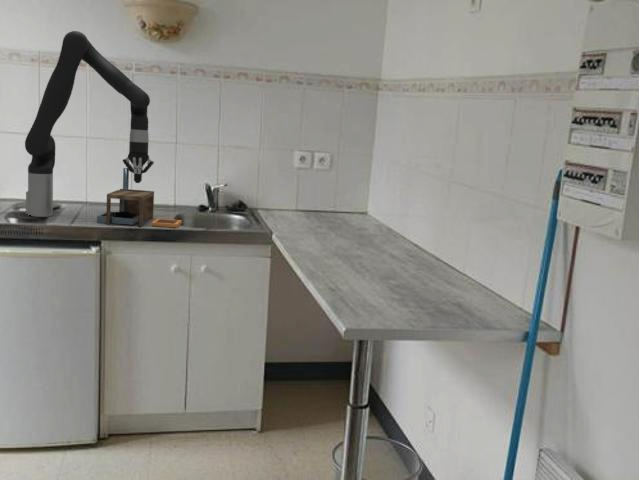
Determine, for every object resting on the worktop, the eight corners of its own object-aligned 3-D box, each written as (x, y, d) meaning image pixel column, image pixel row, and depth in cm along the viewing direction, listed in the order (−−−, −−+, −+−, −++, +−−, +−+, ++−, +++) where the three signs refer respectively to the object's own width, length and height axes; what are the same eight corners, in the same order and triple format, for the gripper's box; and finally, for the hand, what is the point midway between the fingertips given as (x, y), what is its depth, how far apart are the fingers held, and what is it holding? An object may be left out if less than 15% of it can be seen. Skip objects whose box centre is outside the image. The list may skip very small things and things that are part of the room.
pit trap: (151, 226, 267) (151, 222, 267) (157, 221, 278) (157, 218, 278) (176, 228, 267) (176, 224, 267) (181, 223, 278) (181, 220, 278)
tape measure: (132, 220, 270) (131, 210, 270) (114, 221, 267) (113, 211, 267) (128, 220, 277) (127, 211, 276) (111, 221, 273) (110, 212, 273)
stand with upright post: (96, 222, 265) (97, 170, 262) (108, 216, 281) (109, 166, 277) (132, 224, 266) (134, 172, 262) (142, 218, 281) (144, 169, 278)
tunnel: (106, 224, 264) (106, 194, 261) (119, 216, 283) (120, 188, 281) (141, 227, 264) (142, 196, 262) (153, 219, 283) (154, 191, 281)
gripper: (120, 139, 270) (119, 182, 274) (153, 142, 271) (151, 185, 274) (125, 139, 278) (124, 180, 281) (157, 141, 278) (155, 183, 281)
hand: (137, 182), depth 278 cm, fingers closed
